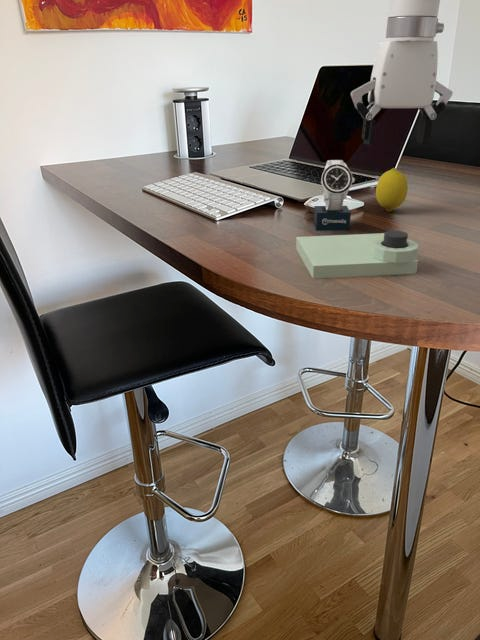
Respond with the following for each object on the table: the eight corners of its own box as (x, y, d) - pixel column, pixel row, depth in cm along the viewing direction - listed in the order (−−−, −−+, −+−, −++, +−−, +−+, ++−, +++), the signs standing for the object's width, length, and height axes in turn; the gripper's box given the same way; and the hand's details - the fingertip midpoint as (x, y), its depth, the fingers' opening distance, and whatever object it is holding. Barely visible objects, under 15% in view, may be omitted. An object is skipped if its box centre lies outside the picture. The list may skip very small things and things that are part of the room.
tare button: (401, 242, 68) (402, 229, 67) (409, 249, 66) (411, 236, 65) (379, 243, 68) (381, 230, 67) (387, 250, 65) (389, 237, 65)
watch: (317, 234, 82) (321, 165, 77) (312, 220, 89) (315, 156, 84) (351, 234, 82) (357, 165, 76) (344, 220, 89) (349, 156, 84)
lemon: (398, 207, 96) (404, 164, 92) (408, 215, 91) (414, 170, 87) (370, 208, 96) (374, 165, 92) (378, 216, 91) (383, 171, 87)
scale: (388, 244, 77) (391, 222, 75) (421, 275, 66) (425, 250, 64) (295, 248, 76) (296, 226, 74) (313, 280, 65) (315, 255, 63)
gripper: (451, 32, 84) (433, 139, 92) (350, 32, 82) (340, 141, 90) (473, 30, 77) (451, 146, 85) (364, 30, 76) (352, 147, 84)
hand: (394, 143), depth 88 cm, fingers open, 9 cm apart
